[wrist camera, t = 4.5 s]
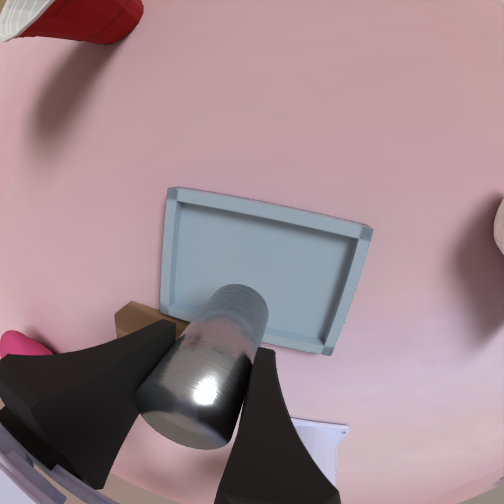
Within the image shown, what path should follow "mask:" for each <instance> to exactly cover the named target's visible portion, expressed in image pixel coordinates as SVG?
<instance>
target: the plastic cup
mask: <svg viewBox="0 0 504 504" xmlns="http://www.w3.org/2000/svg"><path fill="white" fill-rule="evenodd" d="M143 7H144V6H143V4H142V1H141V0H7V2H6V4H5V6H4V8H3V10H2V12H1V15H0V41H1V42H7V41H9V40H11V39H13V38H17V37H23V38H24V37H35V36H41V37H52V38H61V39H68V40H75V41H87V42H92V43H97V44H112V43H115V42H117V41H119V40H121V39H123V38H124V37H125V36H126V35H127V34H129V33H130V32H131V31H132V30H133V29H134V27H135V26H136V25H137V24H138V22H139V21H140V19H141V17H142V14H143Z"/></svg>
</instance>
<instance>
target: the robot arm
mask: <svg viewBox="0 0 504 504" xmlns="http://www.w3.org/2000/svg"><path fill="white" fill-rule="evenodd" d="M175 342H176V323H174V322H171V321H168V320H165V319H162V320H159V321H157V322H155V323H152V324H150V325H148V326H146V327H144V328H141V329H139V330H137V331H135V332H132V333H130V334H128V335H126V336H123V337H121V338H118V339H115V340H113V341H110V342H107V343H104V344H101V345H98V346H95V347H91V348H87V349H83V350H79V351H74V352H67V353H61V354H52V355H18V354H7V355H5V356H4V357H3V358H2V359H0V397H1V399H2V401H3V402H4V404H5V406H4V407H3V408H2V409H1V410H0V504H64V502H65V501H66V499H67V498H66V496H65V495H63V494H62V493H61V492H59V491H58V490H57V489H56V488H55V487H54V486H53V485H51V484H50V483H49V482H48V481H47V480H46V479H45V478H44V477H43V476H42V475H41V474H40V473H39V472H38V471H37V470H36V469H34V465H33V463H34V464H35V465H36V466H37V467H39V468H40V469H41V470H42V471H43V472H44V473H46V474H47V475H48V476H49V477H50V478H52V479H53V480H54V481H56V482H57V483H58V484H59V485H61V486H62V487H64V488H65V489H66V490H68V491H69V492H70V493H72V494H74V495H75V496H76V497H78V498H79V499H81V500H82V501H84V502H85V503H87V504H119V503H117V502H115V501H113V500H112V499H110V498H108V497H106V496H104V495H103V494H101V493H99V492H98V491H96V490H99V489H103V487H104V485H105V482H106V479H107V477H108V474H109V472H110V470H111V467H112V465H113V463H114V460H115V458H116V456H117V454H118V452H119V450H120V448H121V446H122V444H123V442H124V440H125V438H126V436H127V434H128V432H129V431H130V429H131V427H132V425H133V423H134V422H135V420H136V418H137V417H138V415H139V414H140V412H139V411H138V409H137V406H136V403H135V394H136V392H137V390H138V389H139V387H140V386H141V385H142V383H143V382H144V381H145V380H146V378H147V377H148V376H149V375H150V373H151V372H152V371H153V369H154V368H155V367H156V366H157V364H158V363H159V362H160V361H161V359H162V358H163V357H164V356H165V354H166V353H167V352H168V350H169V349H170V348H171V347H172V345H173V344H174V343H175ZM275 355H276V353H275V351H274V350H271V349H267V348H262V347H258V349H257V351H256V354H255V357H254V362H253V366H252V370H251V374H250V378H249V382H248V387H247V391H246V395H245V398H244V402H243V407H242V412H241V417H240V423H239V428H238V433H237V436H236V439H235V442H234V445H233V448H232V450H231V453H230V456H229V459H228V462H227V465H226V468H225V470H224V473H223V476H222V479H221V481H220V484H219V487H218V490H217V494H216V497H215V501H214V504H344V503H341V500H340V495H339V491H338V490H337V489H336V464H337V453H336V447H337V446H338V445H339V444H340V442H341V441H342V440H343V438H344V437H345V436H346V434H347V433H348V432H349V430H350V427H349V426H348V425H338V424H329V423H321V422H314V421H307V420H301V419H295V418H290V415H289V413H288V410H287V407H286V404H285V401H284V398H283V395H282V392H281V388H280V384H279V380H278V375H277V368H276V358H275Z"/></svg>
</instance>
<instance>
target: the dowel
mask: <svg viewBox="0 0 504 504" xmlns="http://www.w3.org/2000/svg"><path fill="white" fill-rule="evenodd" d="M268 317H269V311H268V307H267V304H266V302H265V300H264V299H263V297H262V296H261V295H260V294H259V293H258V292H257V291H255V290H254V289H252V288H250V287H248V286H245V285H242V284H229V285H225V286H222V287H221V288H219V289H218V290H216V291H215V292H214V294H213V295H212V296H211V297H210V299H209V300H208V301H207V302H206V304H205V305H204V306H203V307H202V309H201V310H200V311H199V313H198V314H197V315H196V316H195V318H194V319H193V320H192V321H191V323H190V324H189V325H188V326H187V328H186V329H185V330H184V331H183V333H182V334H181V335H180V337H179V338H178V339H177V340H176V342H175V343H174V344H173V345H172V347H171V348H170V349H169V350H168V352H167V353H166V354H165V356H164V357H163V358H162V359H161V361H160V362H159V363H158V364H157V366H156V367H155V368H154V369H153V371H152V372H151V373H150V375H149V376H148V377H147V378H146V380H145V381H144V382H143V383H142V385H141V386H140V387H139V389H138V390H137V392H136V394H135V403H136V406H137V409H138V411H139V412H140V414H141V416H142V417H143V418H144V420H145V421H146V422H147V423H148V424H149V425H150V426H151V427H152V428H153V429H155V430H156V431H157V432H159V433H160V434H161V435H163V436H165V437H166V438H168V439H170V440H172V441H174V442H176V443H178V444H181V445H184V446H187V447H191V448H195V449H203V450H211V449H217V448H221V447H223V446H225V445H226V444H228V443H229V441H230V440H231V438H232V435H233V432H234V429H235V426H236V423H237V420H238V416H239V413H240V410H241V407H242V404H243V401H244V398H245V395H246V391H247V387H248V382H249V378H250V374H251V370H252V366H253V362H254V357H255V354H256V351H257V349H258V347H260V346H261V342H262V339H263V336H264V332H265V329H266V325H267V322H268Z"/></svg>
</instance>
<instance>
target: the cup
mask: <svg viewBox="0 0 504 504" xmlns="http://www.w3.org/2000/svg"><path fill="white" fill-rule="evenodd" d="M494 239H495V242H496V244H497V246H498V247H499V249H500V250H501V252H502V253H503V255H504V199H503V200H502V202H501V204H500V206H499V208H498V210H497V213H496V216H495V220H494Z"/></svg>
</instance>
